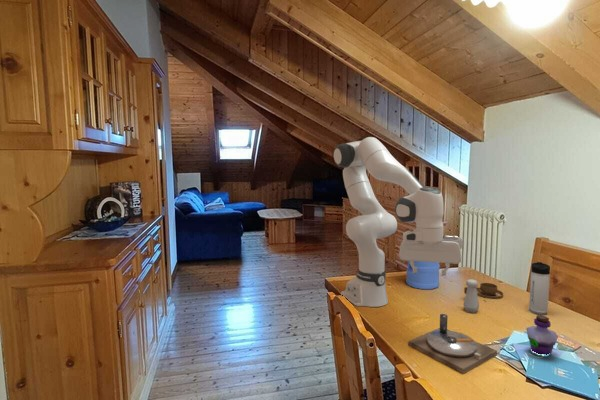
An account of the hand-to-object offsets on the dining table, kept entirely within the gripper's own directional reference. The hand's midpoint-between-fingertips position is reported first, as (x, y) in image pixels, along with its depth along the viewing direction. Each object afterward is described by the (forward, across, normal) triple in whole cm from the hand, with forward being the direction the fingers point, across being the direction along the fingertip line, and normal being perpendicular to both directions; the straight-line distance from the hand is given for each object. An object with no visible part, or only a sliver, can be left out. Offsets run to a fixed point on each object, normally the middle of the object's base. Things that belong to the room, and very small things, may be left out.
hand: (429, 274), depth 124 cm
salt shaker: (+23, -15, -29) cm, 40 cm away
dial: (+21, -7, +7) cm, 23 cm away
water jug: (+22, +5, -56) cm, 60 cm away
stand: (+23, -7, +7) cm, 25 cm away
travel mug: (+23, -41, -37) cm, 59 cm away
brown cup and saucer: (+23, -20, -50) cm, 59 cm away
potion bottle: (+23, -34, -1) cm, 41 cm away
